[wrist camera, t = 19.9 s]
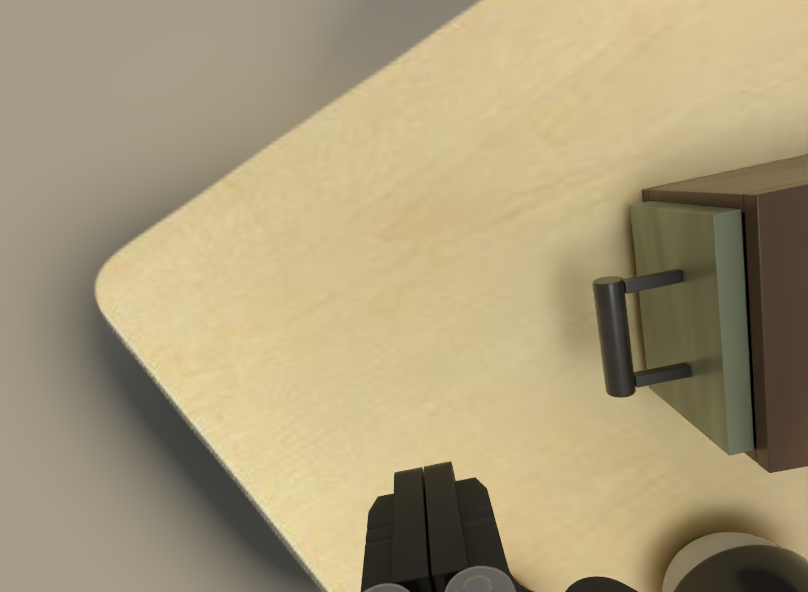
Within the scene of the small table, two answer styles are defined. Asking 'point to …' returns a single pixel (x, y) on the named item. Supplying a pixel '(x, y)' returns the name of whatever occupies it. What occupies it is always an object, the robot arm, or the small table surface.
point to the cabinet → (769, 294)
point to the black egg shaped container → (736, 566)
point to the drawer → (685, 318)
